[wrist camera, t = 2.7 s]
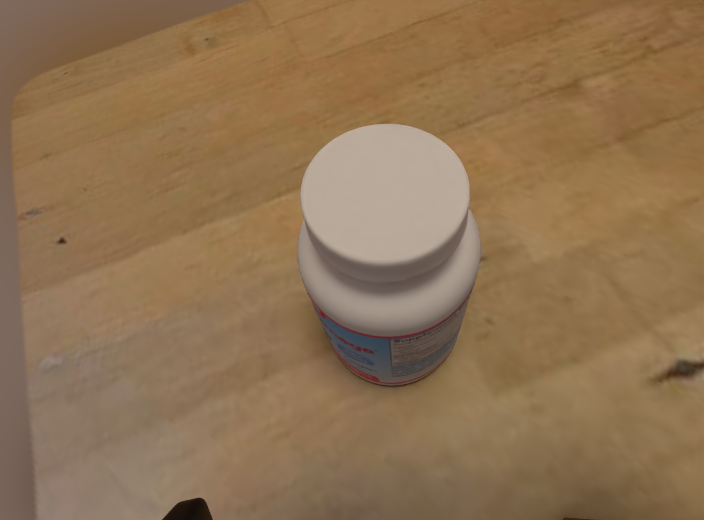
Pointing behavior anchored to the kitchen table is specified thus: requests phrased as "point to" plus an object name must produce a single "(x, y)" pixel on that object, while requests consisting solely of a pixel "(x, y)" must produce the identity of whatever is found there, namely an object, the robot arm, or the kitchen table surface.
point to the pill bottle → (388, 249)
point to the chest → (574, 519)
